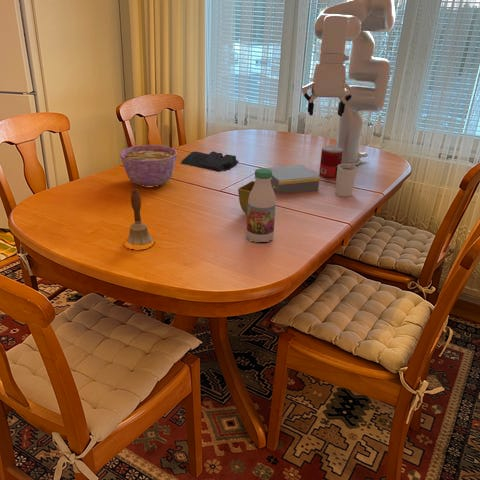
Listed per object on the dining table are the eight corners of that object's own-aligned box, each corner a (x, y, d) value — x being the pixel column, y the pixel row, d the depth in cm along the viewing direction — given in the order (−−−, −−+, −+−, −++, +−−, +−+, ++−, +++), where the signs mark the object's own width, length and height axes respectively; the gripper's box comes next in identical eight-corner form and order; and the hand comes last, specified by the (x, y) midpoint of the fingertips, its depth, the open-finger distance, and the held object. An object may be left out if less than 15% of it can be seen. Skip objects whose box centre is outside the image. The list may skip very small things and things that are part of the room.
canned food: (339, 179, 176) (343, 151, 171) (318, 177, 178) (321, 150, 173) (339, 173, 183) (343, 146, 178) (319, 171, 184) (322, 144, 179)
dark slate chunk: (197, 155, 201) (197, 144, 199) (241, 163, 192) (242, 152, 190) (177, 164, 188) (177, 153, 186) (224, 173, 180) (224, 162, 178)
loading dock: (300, 177, 178) (301, 164, 175) (318, 190, 165) (320, 177, 163) (262, 180, 172) (263, 168, 170) (278, 194, 160) (279, 181, 158)
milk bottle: (245, 231, 133) (247, 165, 124) (271, 231, 134) (275, 166, 125) (247, 244, 126) (250, 175, 117) (275, 243, 127) (280, 175, 118)
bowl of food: (189, 184, 167) (188, 153, 162) (144, 198, 154) (142, 164, 148) (155, 171, 179) (154, 141, 174) (111, 182, 166) (108, 151, 160)
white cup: (355, 193, 164) (359, 166, 159) (348, 198, 159) (353, 171, 154) (338, 189, 167) (341, 162, 163) (331, 194, 162) (334, 167, 158)
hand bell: (153, 250, 121) (150, 194, 114) (121, 250, 121) (116, 194, 113) (156, 236, 129) (153, 183, 121) (126, 236, 128) (121, 183, 121)
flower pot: (260, 222, 139) (262, 194, 135) (236, 215, 143) (237, 188, 139) (274, 212, 146) (276, 186, 142) (250, 206, 150) (252, 180, 146)
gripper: (355, 59, 146) (348, 113, 153) (302, 57, 145) (297, 112, 152) (362, 61, 139) (354, 118, 147) (306, 59, 138) (301, 116, 146)
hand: (325, 115), depth 150 cm, fingers open, 9 cm apart
